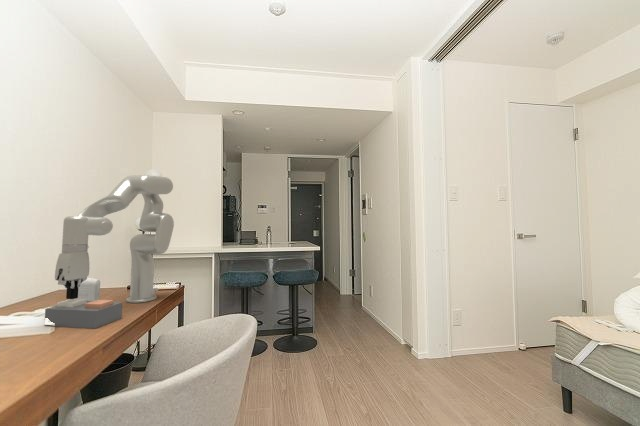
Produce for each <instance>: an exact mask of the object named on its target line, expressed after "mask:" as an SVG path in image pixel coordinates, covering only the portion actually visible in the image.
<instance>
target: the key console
mask: <svg viewBox="0 0 640 426" xmlns="http://www.w3.org/2000/svg"><path fill="white" fill-rule="evenodd" d="M89 302H92V301H87V303H89ZM122 316H123V302H122V301H121V302H119V301H113V305H110V306H107V307H104V308H101V309H93V308H85V304H83V305H79V306H76V307H72V308H70V307H57V305H55V306H50V307H46V308H45V309H44V319H45V318H48V319H49V320H50V321H51V322H53V323H55V326H54V327H57V328H75V329H76V328H79V329H80V328H81V329H98V328H100V327H103V326H106V325H108V324H111V323H113V322H116V321H118V320H121V319H123V317H122Z"/></svg>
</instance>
